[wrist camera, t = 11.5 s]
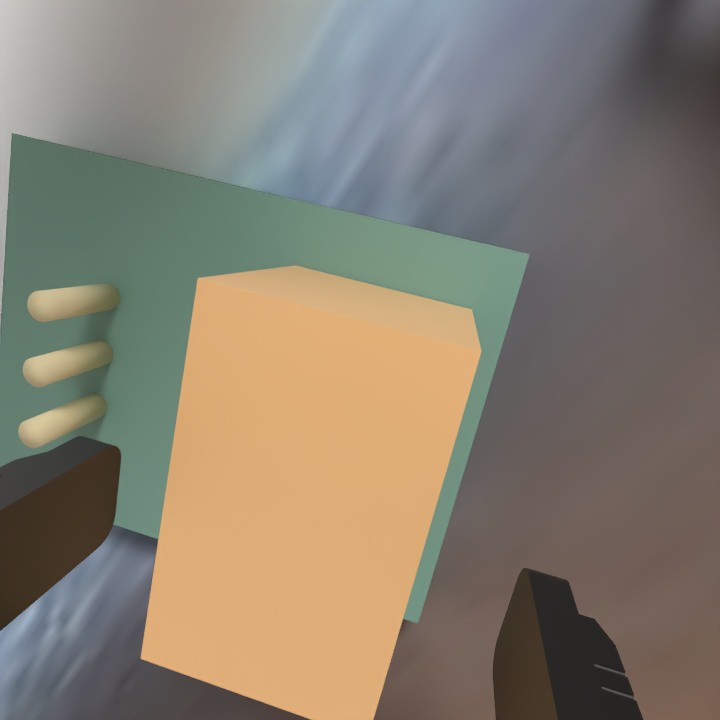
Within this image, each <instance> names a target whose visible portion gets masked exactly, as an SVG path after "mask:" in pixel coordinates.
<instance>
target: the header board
mask: <svg viewBox="0 0 720 720" xmlns="http://www.w3.org/2000/svg"><path fill="white" fill-rule="evenodd" d="M529 255H530V254H526V253H522V252H518V251H514V250H509V249H505V248H501V247H496V246H492V245H488V244H484V243H479V242H475V241H471V240H466V239H462V238H458V237H454V236H449V235H445V234H441V233H436V232H432V231H428V230H424V229H419V228H415V227H411V226H406V225H402V224H398V223H394V222H389V221H385V220H381V219H377V218H372V217H368V216H364V215H359V214H355V213H351V212H347V211H342V210H338V209H334V208H329V207H325V206H321V205H317V204H312V203H308V202H304V201H299V200H295V199H291V198H287V197H282V196H278V195H274V194H270V193H265V192H261V191H257V190H252V189H248V188H244V187H240V186H235V185H231V184H227V183H222V182H218V181H214V180H210V179H205V178H201V177H197V176H192V175H188V174H184V173H180V172H175V171H171V170H167V169H163V168H158V167H154V166H150V165H145V164H141V163H137V162H133V161H128V160H124V159H120V158H115V157H111V156H107V155H103V154H98V153H94V152H90V151H85V150H81V149H77V148H73V147H68V146H64V145H60V144H56V143H51V142H47V141H43V140H38V139H34V138H30V137H26V136H21V135H17V134H13V133H12V142H11V159H10V176H9V193H8V210H7V227H6V245H5V262H4V279H3V296H2V313H1V330H0V467H1V466H3V465H5V464H7V463H10V462H12V461H14V460H16V459H20V458H24V457H28V456H32V455H36V454H40V453H44V452H48V451H50V450H52V449H54V448H56V447H58V446H60V445H62V444H64V443H66V442H67V441H69V440H71V439H73V438H75V437H78V436H84V437H87V438H91V439H94V440H98V441H101V442H104V443H108V444H111V445H114V446H117V447H118V448H119V449H120V452H121V466H120V476H119V486H118V495H117V505H116V514H115V519H114V523H113V525H116V526H119V527H122V528H125V529H128V530H131V531H135V532H138V533H141V534H144V535H147V536H150V537H153V538H156V539H159V533H160V526H161V519H162V513H163V506H164V500H165V493H166V486H167V480H168V473H169V466H170V460H171V453H172V446H173V440H174V433H175V426H176V420H177V413H178V406H179V400H180V393H181V386H182V380H183V373H184V366H185V360H186V353H187V346H188V340H189V333H190V326H191V320H192V313H193V307H194V300H195V293H196V287H197V280H198V278H202V277H209V276H217V275H225V274H232V273H240V272H248V271H255V270H263V269H271V268H278V267H286V266H294V265H296V266H300V267H304V268H308V269H312V270H316V271H320V272H324V273H328V274H332V275H336V276H340V277H344V278H348V279H352V280H356V281H360V282H364V283H368V284H372V285H376V286H380V287H384V288H388V289H392V290H396V291H400V292H404V293H408V294H412V295H416V296H420V297H424V298H428V299H432V300H436V301H440V302H444V303H448V304H452V305H456V306H460V307H464V308H468V309H472V312H473V316H474V320H475V325H476V329H477V334H478V338H479V342H480V347H481V351H482V352H481V355H480V358H479V362H478V365H477V369H476V372H475V375H474V379H473V382H472V386H471V389H470V392H469V396H468V399H467V403H466V406H465V409H464V413H463V416H462V420H461V423H460V426H459V430H458V433H457V437H456V440H455V443H454V447H453V450H452V454H451V457H450V460H449V464H448V467H447V471H446V474H445V477H444V481H443V484H442V488H441V491H440V494H439V498H438V501H437V505H436V508H435V511H434V515H433V518H432V522H431V525H430V528H429V532H428V535H427V539H426V542H425V545H424V549H423V552H422V556H421V559H420V562H419V566H418V569H417V573H416V576H415V579H414V583H413V586H412V590H411V593H410V596H409V600H408V603H407V607H406V610H405V613H404V617H403V619H405V620H409V621H412V622H415V623H418V622H419V619H420V615H421V612H422V609H423V605H424V602H425V599H426V595H427V592H428V589H429V585H430V582H431V579H432V576H433V572H434V569H435V566H436V562H437V559H438V556H439V552H440V549H441V546H442V543H443V539H444V536H445V533H446V529H447V526H448V523H449V519H450V516H451V513H452V509H453V506H454V503H455V500H456V496H457V493H458V490H459V486H460V483H461V480H462V476H463V473H464V470H465V467H466V463H467V460H468V457H469V453H470V450H471V447H472V443H473V440H474V437H475V433H476V430H477V427H478V424H479V420H480V417H481V414H482V410H483V407H484V404H485V400H486V397H487V394H488V391H489V387H490V384H491V381H492V377H493V374H494V371H495V367H496V364H497V361H498V357H499V354H500V351H501V348H502V344H503V341H504V338H505V334H506V331H507V328H508V324H509V321H510V318H511V315H512V311H513V308H514V305H515V301H516V298H517V295H518V291H519V288H520V285H521V281H522V278H523V275H524V272H525V268H526V265H527V262H528V258H529Z"/></svg>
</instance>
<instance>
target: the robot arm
mask: <svg viewBox="0 0 720 720" xmlns="http://www.w3.org/2000/svg"><path fill="white" fill-rule="evenodd" d="M120 466H121V452H120V449H119V448H118V447H117V446H114V445H111V444H108V443H104V442H101V441H98V440H94V439H91V438H87V437H84V436H78V437H75V438H73V439H71V440H69V441H67V442H66V443H64V444H62V445H60V446H58V447H56V448H54V449H52V450H50V451H48V452H44V453H40V454H36V455H32V456H28V457H24V458H20V459H16V460H14V461H12V462H10V463H7V464H5V465H3V466H1V467H0V631H1V630H2V629H3V628H4V627H6V626H7V625H8V624H9V623H10V622H11V621H13V620H14V619H15V618H16V617H17V616H18V615H20V614H21V613H22V612H23V611H24V610H25V609H27V608H28V607H29V606H30V605H31V604H33V603H34V602H35V601H36V600H37V599H38V598H40V597H41V596H42V595H43V594H44V593H45V592H47V591H48V590H49V589H50V588H51V587H53V586H54V585H55V584H56V583H57V582H58V581H60V580H61V579H62V578H63V577H64V576H65V575H67V574H68V573H69V572H70V571H71V570H72V569H74V568H75V567H76V566H77V565H78V564H80V563H81V562H82V561H83V560H84V559H85V558H87V557H88V556H89V555H90V554H91V553H92V552H94V551H95V550H96V549H97V548H98V547H99V546H100V545H101V544H102V543H103V542H104V540H105V539H106V538H107V536H108V534H109V532H110V530H111V528H112V526H113V523H114V519H115V514H116V505H117V495H118V486H119V476H120ZM493 685H494V699H495V713H496V720H643V718H642V715H641V712H640V710H639V707H638V704H637V702H636V701H635V700H634V699H633V697H634V694H633V691H632V688H631V686H630V683H629V680H628V678H627V677H625V670H624V667H623V664H622V662H621V659H620V657H619V654H618V651H617V649H616V646H615V644H614V643H613V642H612V640H611V639H610V638H609V637H608V635H607V634H606V633H605V632H604V630H603V629H602V628H601V627H600V625H599V624H598V623H597V622H596V620H595V619H593V618H590V617H586V616H583V615H580V614H579V613H578V610H577V607H576V604H575V601H574V597H573V594H572V591H571V588H570V585H569V582H568V581H567V580H565V579H562V578H558V577H555V576H551V575H548V574H545V573H541V572H538V571H535V570H531V569H528V568H524V569H523V570H522V571H521V572H520V574H519V577H518V579H517V582H516V585H515V588H514V591H513V594H512V597H511V600H510V603H509V606H508V609H507V612H506V615H505V618H504V621H503V624H502V627H501V630H500V633H499V636H498V639H497V643H496V648H495V653H494V661H493Z"/></svg>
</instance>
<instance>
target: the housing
mask: <svg viewBox="0 0 720 720" xmlns="http://www.w3.org/2000/svg"><path fill="white" fill-rule="evenodd" d="M481 352H482V351H481V347H480V342H479V338H478V334H477V329H476V325H475V320H474V316H473V312H472V309H468V308H464V307H460V306H456V305H452V304H448V303H444V302H440V301H436V300H432V299H428V298H424V297H420V296H416V295H412V294H408V293H404V292H400V291H396V290H392V289H388V288H384V287H380V286H376V285H372V284H368V283H364V282H360V281H356V280H352V279H348V278H344V277H340V276H336V275H332V274H328V273H324V272H320V271H316V270H312V269H308V268H304V267H300V266H296V265H294V266H286V267H278V268H271V269H263V270H255V271H248V272H240V273H232V274H225V275H217V276H209V277H202V278H198V280H197V287H196V293H195V300H194V307H193V313H192V320H191V326H190V333H189V340H188V346H187V353H186V360H185V366H184V373H183V380H182V386H181V393H180V400H179V406H178V413H177V420H176V426H175V433H174V440H173V446H172V453H171V460H170V466H169V473H168V480H167V486H166V493H165V500H164V506H163V513H162V519H161V526H160V533H159V539H158V546H157V553H156V559H155V566H154V573H153V579H152V586H151V593H150V599H149V606H148V613H147V619H146V626H145V633H144V639H143V646H142V653H141V659H143V660H146V661H148V662H151V663H154V664H157V665H160V666H162V667H165V668H168V669H171V670H174V671H176V672H179V673H182V674H185V675H188V676H190V677H193V678H196V679H199V680H202V681H205V682H207V683H210V684H213V685H216V686H219V687H221V688H224V689H227V690H230V691H233V692H235V693H238V694H241V695H244V696H247V697H249V698H252V699H255V700H258V701H261V702H263V703H266V704H269V705H272V706H275V707H278V708H280V709H283V710H286V711H289V712H292V713H294V714H297V715H300V716H303V717H306V718H308V719H311V720H373V719H374V716H375V712H376V709H377V705H378V702H379V699H380V695H381V692H382V688H383V685H384V682H385V678H386V675H387V671H388V668H389V664H390V661H391V658H392V654H393V651H394V647H395V644H396V641H397V637H398V634H399V630H400V627H401V624H402V620H403V617H404V613H405V610H406V607H407V603H408V600H409V596H410V593H411V590H412V586H413V583H414V579H415V576H416V573H417V569H418V566H419V562H420V559H421V556H422V552H423V549H424V545H425V542H426V539H427V535H428V532H429V528H430V525H431V522H432V518H433V515H434V511H435V508H436V505H437V501H438V498H439V494H440V491H441V488H442V484H443V481H444V477H445V474H446V471H447V467H448V464H449V460H450V457H451V454H452V450H453V447H454V443H455V440H456V437H457V433H458V430H459V426H460V423H461V420H462V416H463V413H464V409H465V406H466V403H467V399H468V396H469V392H470V389H471V386H472V382H473V379H474V375H475V372H476V369H477V365H478V362H479V358H480V355H481Z"/></svg>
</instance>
